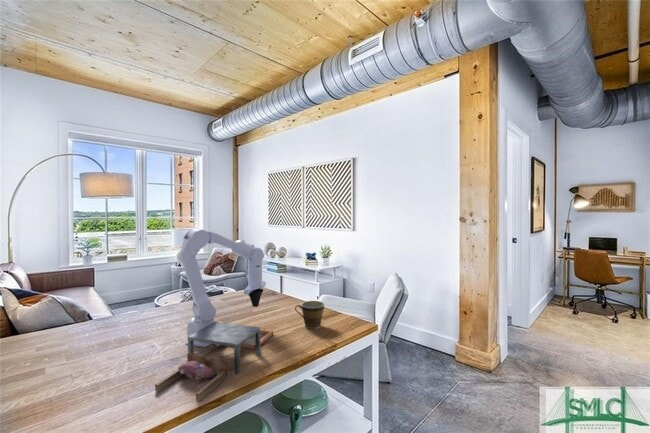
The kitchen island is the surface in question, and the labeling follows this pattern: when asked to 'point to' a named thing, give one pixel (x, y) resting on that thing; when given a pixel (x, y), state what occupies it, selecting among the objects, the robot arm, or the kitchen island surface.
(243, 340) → the small grey table
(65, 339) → the kitchen island surface
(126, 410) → the kitchen island surface
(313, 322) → the ceramic cup
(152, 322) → the kitchen island surface
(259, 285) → the robot arm
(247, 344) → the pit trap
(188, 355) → the mallet
